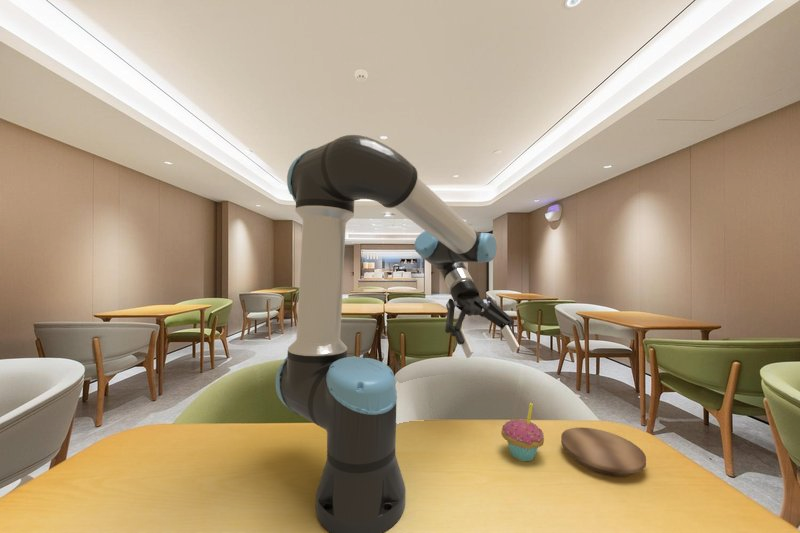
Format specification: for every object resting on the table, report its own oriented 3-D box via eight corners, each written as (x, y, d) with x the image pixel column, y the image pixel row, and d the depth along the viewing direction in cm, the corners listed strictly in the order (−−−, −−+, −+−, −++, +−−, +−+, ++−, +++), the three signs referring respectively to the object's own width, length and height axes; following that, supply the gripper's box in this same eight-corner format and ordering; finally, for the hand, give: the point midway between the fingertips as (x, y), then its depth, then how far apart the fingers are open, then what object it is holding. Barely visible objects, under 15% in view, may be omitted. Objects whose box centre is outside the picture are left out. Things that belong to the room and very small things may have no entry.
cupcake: (536, 445, 72) (536, 392, 72) (550, 468, 64) (550, 409, 64) (497, 443, 73) (498, 390, 73) (506, 466, 65) (506, 407, 65)
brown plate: (586, 483, 59) (586, 467, 59) (548, 440, 74) (548, 427, 74) (666, 484, 59) (666, 468, 59) (612, 440, 74) (612, 427, 74)
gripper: (492, 294, 100) (526, 354, 86) (419, 297, 91) (444, 365, 77) (503, 278, 95) (541, 339, 81) (426, 280, 86) (454, 349, 72)
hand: (493, 352), depth 79 cm, fingers open, 13 cm apart
